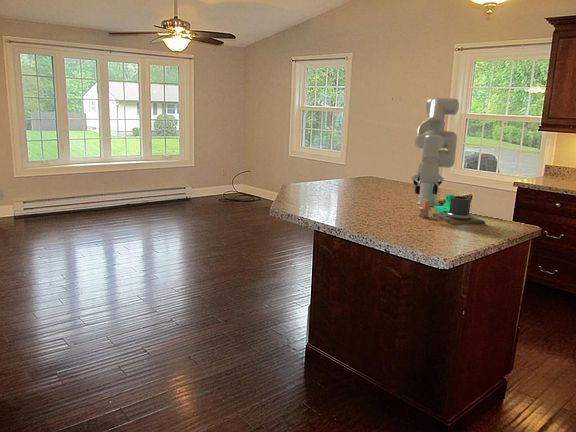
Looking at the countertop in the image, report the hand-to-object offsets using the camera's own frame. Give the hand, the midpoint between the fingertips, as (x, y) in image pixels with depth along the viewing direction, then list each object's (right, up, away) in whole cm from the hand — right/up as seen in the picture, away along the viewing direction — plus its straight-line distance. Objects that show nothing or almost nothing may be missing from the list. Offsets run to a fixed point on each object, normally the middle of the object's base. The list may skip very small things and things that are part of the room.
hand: (425, 193), depth 245 cm
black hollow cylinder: (+16, -12, -1) cm, 20 cm away
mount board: (+16, -13, -1) cm, 21 cm away
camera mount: (+15, -10, +16) cm, 24 cm away
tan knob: (0, -12, +3) cm, 12 cm away
